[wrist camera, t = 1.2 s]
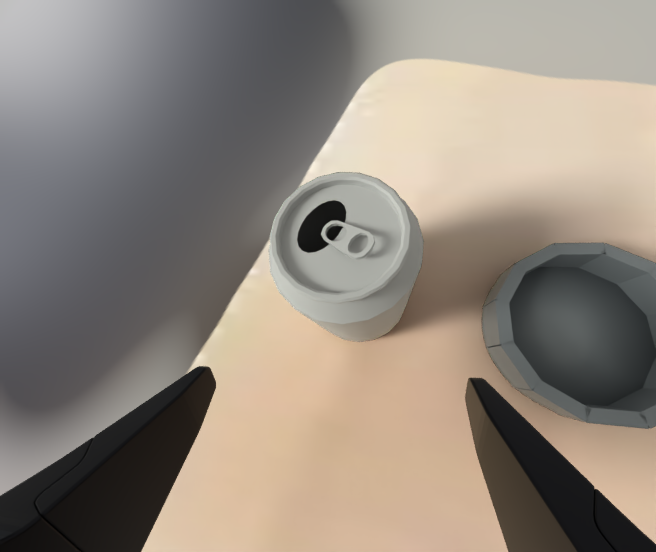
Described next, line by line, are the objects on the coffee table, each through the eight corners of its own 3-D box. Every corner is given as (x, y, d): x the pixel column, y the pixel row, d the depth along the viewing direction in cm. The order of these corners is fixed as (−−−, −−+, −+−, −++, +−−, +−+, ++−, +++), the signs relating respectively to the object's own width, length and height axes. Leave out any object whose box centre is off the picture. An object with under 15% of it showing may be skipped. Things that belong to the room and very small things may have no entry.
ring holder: (706, 369, 18) (767, 369, 15) (551, 447, 18) (582, 462, 15) (577, 235, 21) (607, 215, 19) (451, 300, 22) (461, 291, 19)
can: (348, 239, 25) (320, 134, 14) (424, 284, 22) (466, 201, 11) (297, 307, 24) (221, 254, 13) (371, 363, 21) (359, 358, 10)
